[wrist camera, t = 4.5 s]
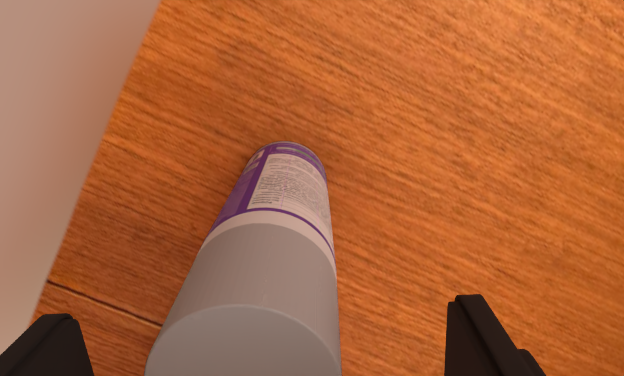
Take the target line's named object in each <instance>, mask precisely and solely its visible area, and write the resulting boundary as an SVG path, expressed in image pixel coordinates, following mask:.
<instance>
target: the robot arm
mask: <svg viewBox="0 0 624 376" xmlns="http://www.w3.org/2000/svg"><path fill="white" fill-rule="evenodd" d="M0 376H94V373H93V370H92V366H91V363H90V359H89V356H88V353H87V349H86V346H85V342H84V339H83V335H82V332H81V328H80V325H79V322H78V321H77V320H76V319H73V317H72V316H71V315H70V314H67V313H63V314H45V315H42V316H41V317H39V318H38V319H37V320H36V321H35V322H34V323H33V324H32V325H31V326H30V327H29V328H28V329H27V330H26V331H25V332H24V333H23V334H22V335H21V336H20V337H19V338H18V339H17V340H16V341H15V342H14V343H13V344H11V345H10V346H9V347H8V348H7V349H6V351H4V352H3V353H2V354H1V355H0ZM444 376H546V375H545V373H544V372H543V370H542V369H541V368H540V366H539V365H538V363H537V362H536V360H535V359H534V357H533V356H532V355H531V354H530V353H529V351H527V350H525V349H517V348H516V346H515V345H514V343H513V342H512V340H511V339H510V337H509V336H508V334H507V333H506V331H505V330H504V328H503V327H502V325H501V324H500V322H499V321H498V319H497V318H496V316H495V314H494V313H493V311H492V310H491V308H490V307H489V305H488V304H487V302H486V301H485V299H484V298H483V296H482V295H480V294H474V295H457V296H456V298H455V301H454V302H449V303H448V309H447V330H446V351H445V373H444Z"/></svg>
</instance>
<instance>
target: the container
mask: <svg viewBox="0 0 624 376" xmlns="http://www.w3.org/2000/svg"><path fill="white" fill-rule="evenodd" d="M144 376H342V369H341V351H340V333H339V314H338V296H337V278H336V263H335V254H334V245H333V235H332V226H331V217H330V207H329V198H328V189H327V180H326V174H325V170H324V167H323V165H322V163H321V161H320V160H319V158H318V157H317V156H316V155H315V154H314V153H313V152H312V151H311V150H310V149H308V148H307V147H305V146H303V145H301V144H298V143H295V142H290V141H279V142H274V143H270V144H268V145H265V146H264V147H262V148H260V149H259V150H258V151H257V152H256V153H255V154H254V155H253V156H252V157H251V159H250V160H249V162H248V163H247V165H246V167H245V168H244V170H243V172H242V174H241V176H240V177H239V179H238V181H237V183H236V185H235V186H234V188H233V190H232V192H231V194H230V195H229V197H228V199H227V201H226V203H225V204H224V206H223V208H222V210H221V211H220V213H219V215H218V217H217V219H216V220H215V222H214V224H213V226H212V228H211V229H210V231H209V233H208V235H207V237H206V238H205V240H204V242H203V244H202V246H201V248H200V250H199V252H198V254H197V257H196V259H195V261H194V263H193V265H192V267H191V269H190V271H189V273H188V275H187V277H186V279H185V281H184V283H183V285H182V287H181V289H180V291H179V293H178V295H177V298H176V300H175V302H174V304H173V306H172V308H171V310H170V312H169V314H168V316H167V318H166V320H165V322H164V324H163V326H162V328H161V330H160V332H159V334H158V336H157V338H156V340H155V342H154V345H153V347H152V349H151V351H150V353H149V355H148V358H147V361H146V365H145V371H144Z"/></svg>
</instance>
